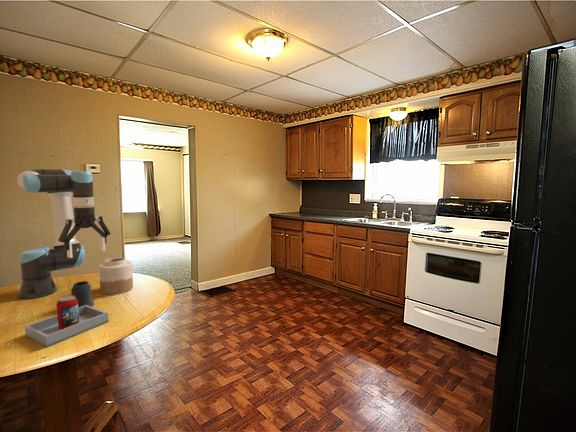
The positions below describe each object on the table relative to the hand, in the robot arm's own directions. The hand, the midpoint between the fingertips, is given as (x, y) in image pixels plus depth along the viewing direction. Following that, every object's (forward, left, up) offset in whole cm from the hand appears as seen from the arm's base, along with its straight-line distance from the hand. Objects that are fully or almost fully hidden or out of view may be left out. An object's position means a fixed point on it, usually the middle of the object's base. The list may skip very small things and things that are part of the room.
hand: (87, 254), depth 133 cm
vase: (-14, +21, -26) cm, 36 cm away
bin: (+10, -14, -26) cm, 31 cm away
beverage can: (+10, -14, -26) cm, 31 cm away
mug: (-9, +1, -26) cm, 28 cm away
